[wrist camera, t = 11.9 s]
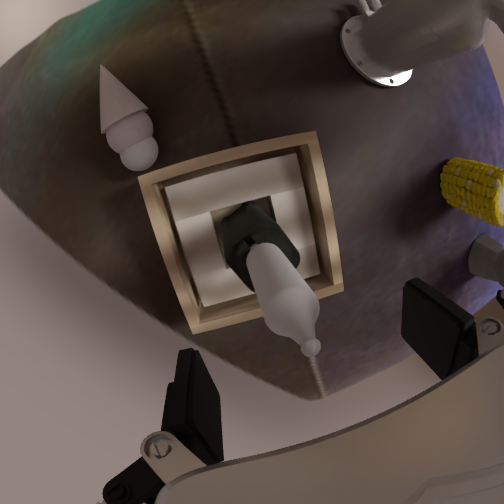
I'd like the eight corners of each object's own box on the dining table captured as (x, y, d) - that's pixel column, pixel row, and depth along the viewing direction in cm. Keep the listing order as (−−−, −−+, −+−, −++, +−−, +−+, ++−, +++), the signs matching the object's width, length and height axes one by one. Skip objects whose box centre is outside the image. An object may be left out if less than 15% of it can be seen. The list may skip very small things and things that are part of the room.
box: (150, 175, 31) (137, 176, 26) (299, 136, 32) (315, 130, 27) (195, 310, 37) (193, 334, 32) (326, 273, 38) (343, 290, 33)
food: (461, 162, 38) (453, 209, 41) (434, 146, 34) (425, 202, 37) (524, 178, 25) (514, 233, 28) (510, 161, 21) (500, 229, 24)
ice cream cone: (113, 68, 26) (155, 162, 33) (72, 83, 23) (117, 184, 30) (132, 44, 22) (180, 152, 29) (84, 58, 18) (136, 177, 26)
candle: (242, 253, 35) (294, 410, 11) (217, 222, 34) (223, 352, 10) (274, 228, 35) (384, 348, 11) (250, 196, 33) (335, 270, 10)
